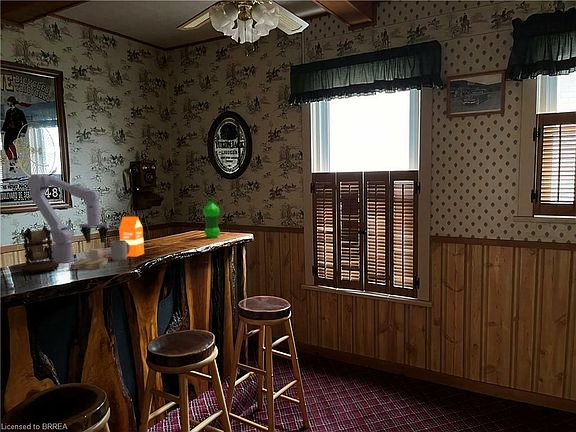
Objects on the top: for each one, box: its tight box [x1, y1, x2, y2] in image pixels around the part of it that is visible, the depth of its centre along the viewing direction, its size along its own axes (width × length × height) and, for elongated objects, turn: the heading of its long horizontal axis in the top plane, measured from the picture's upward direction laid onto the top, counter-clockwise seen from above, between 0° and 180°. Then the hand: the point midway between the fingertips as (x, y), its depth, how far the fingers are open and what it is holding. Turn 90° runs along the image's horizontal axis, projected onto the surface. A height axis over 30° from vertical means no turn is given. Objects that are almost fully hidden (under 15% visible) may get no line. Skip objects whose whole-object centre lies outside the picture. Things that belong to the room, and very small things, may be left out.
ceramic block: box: [88, 247, 105, 259], centre depth 211 cm, size 4×4×6 cm
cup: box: [110, 239, 130, 262], centre depth 213 cm, size 7×10×9 cm
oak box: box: [70, 257, 109, 270], centre depth 198 cm, size 12×12×3 cm
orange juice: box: [118, 216, 145, 257], centre depth 221 cm, size 8×9×20 cm
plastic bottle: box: [202, 197, 221, 239], centre depth 270 cm, size 10×10×25 cm
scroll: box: [20, 225, 60, 274], centre depth 190 cm, size 15×15×20 cm
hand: (95, 242), depth 210 cm, fingers open, 7 cm apart
